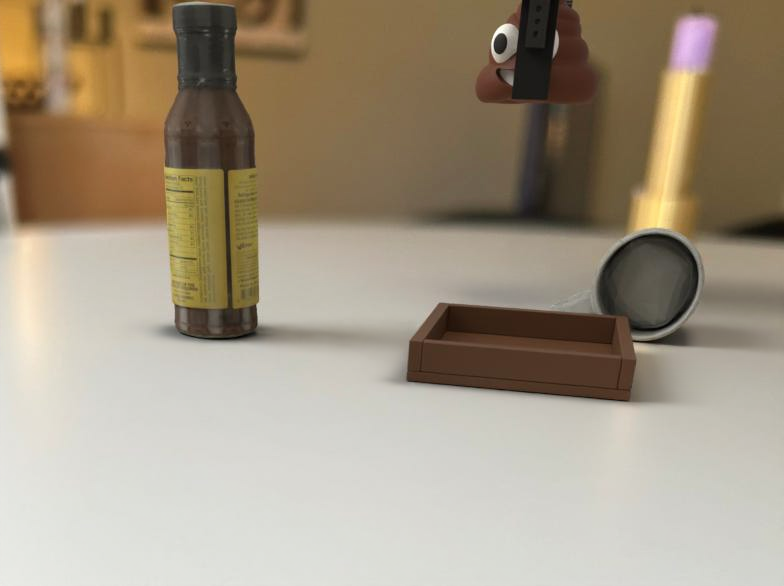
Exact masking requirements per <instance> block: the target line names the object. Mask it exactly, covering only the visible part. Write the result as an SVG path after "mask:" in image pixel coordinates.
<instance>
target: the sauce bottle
mask: <svg viewBox="0 0 784 586" xmlns="http://www.w3.org/2000/svg"><path fill="white" fill-rule="evenodd" d="M171 9H172V10H171V18H172V19H171V21H172V30H173V33H174V35H175V38H176V39H175V40H176V55H177V57H176V58H177V76H176V80H177V89H178V91H177V94H176V96H175V97H174V100H173V103H172V106H171V107H170V108H169V110H168V113H167V116H166V117H165V121H164V127H163V144H164V157H163V170H164V188H165V191H164V192H165V203H166V205H165V206H166V224H167V225H166V226H167V241H168V256H169V257H168V259H169V270H170V271H169V273H170V290H171V301H172V304H174V320H173V321H174V326H175V328H176V330H177V331H178V332H179V333H182V334H185V335H187V336H192V337H196V338H202V339H227V338H236V337H241V336H246V335H247V334H251V333H252V332H254V331H255V330H257V328H258V325H259V322H258V321H259V319H258V317H259V316H258V306H257V305H258V303H259V302H260V270H259V269H260V266H259V265H260V263H259V259H260V258H259V257H260V256H259V210H258V209H259V207H258V206H259V205H258V167H257V165H256V149H255V148H256V146H255V144H256V140H255V139H256V133H255V129H254V124H253V121H252V119H251V115H250V114H249V112H248V111H247V109H246V107H245V104H244V102H243V101H242V100H241V98H240V95H239V94H238V92H237V90H238V85H237V82H238V75H237V72H236V71H237V70H236V51H235V50H236V49H235V48H236V43H235V42H236V41H235V40H236V35H237V30H238V16H237V8H236V6H235V5H234V4H233V5H232V4H225V3H217V2H215V3H214V2H208V1H207V2H206V1H188V2H187V1H186V2H180V3H177V4H174V5H173V6H172V8H171Z"/></svg>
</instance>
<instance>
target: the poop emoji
mask: <svg viewBox="0 0 784 586" xmlns="http://www.w3.org/2000/svg"><path fill="white" fill-rule="evenodd" d="M521 5H522V1H521V2H520V3H519V4H518V6H517V9H516V11H515V12H512V14H510V15H509V17H508V18H507V20H506V22H505V23H504V24H501V25H500V26H499V27H498V28H497V29H496V31H495V32H494V34H493V36H492V39H491V44H490V46H489V50H488V61H489V62H488V64H487V65H485V66H483V68H482V69H481V70H480V71H479V73H478V75H477V77H476V80H475V85H474V86H475V87H474V89H475V96H476V98H477V99H478V100H479V102H481V103H485V104H501V105H521V104H551V105H552V104H553V105H574V106H585V105H589V104H591V103H592V102H593V101H594V99H595V98H596V97H597V95H598V92H599V86H600V82H599V81H600V79H599V75H598V73H597V71H596V69H594V67H593V66H591V65H590V64H589V54H590V50H589V46H588V43H587V42H586V41H585V39H583V38H582V31H583V30H582V24H581V17H580V15H579V13H578V11H576V10H575V9H574V8H573V7H572V8H571V7H569V6H568V5H567V0H560V2H559V10H558V18H557V27H556V35H555V43H554V51H553V59H552V67H551V75H550V83H549V91H548V99H547V100H520V99H511V97H512V88H513V79H514V70H515V60H516V51H517V42H518V33H519V24H520V14H521Z"/></svg>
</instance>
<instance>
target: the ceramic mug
mask: <svg viewBox="0 0 784 586" xmlns="http://www.w3.org/2000/svg"><path fill="white" fill-rule="evenodd" d="M704 266H705V265H704V262H703V259H702V256H701V253H700V251H699V250H698V248H697V246H695V245H694V243H693V242H692V241H691V240H690V239H689V238H688V237H686V236H685V235H684V234H682V233H680V232H678V231H676V230H673V229H670V228H665V227H648V228H643V229H637V230H635V231H634V232H632V233H629V234H627V235H625V236H624V237H622V238H621V239H619V240H617V242H615V243H614V244H613V245H612V246H611V247H609V249H608V250H607V252H605V254H604V255H603V257H601V260H600V261H599V263H598V265H597V266H596V267H597V268H596V270H595V273H594V276H593V278H592V286H591V288H590V289H588V290H585V291H581V292H579V293H576V294H574V295H572V296H570V297H567V298H564V299H562V300H559V301H557V302H555V303H553V304H552V305H551V307H550V311H560V312H574V313H587V314H600V315H614V316H626V317H628V322H629V327H630V331H631V336H632V341H638V342H646V341H647V342H649V341H654V340H655V341H656V340H659V339H662V338H664V337H667V336H668V335H670V334H672V333H674V332H675V331H676V330H678V329H680V328H681V327H682V326H683V325H684V324H685V323H687V322H688V320H689V319H690V318H691V316H692V315H693V314H694V313H695V311H696V309H697V308H698V306H699V303H700V301H701V299H702V295H703V292H704V288H705V279H706V274H705V273H706V272H705V267H704Z"/></svg>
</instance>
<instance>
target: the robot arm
mask: <svg viewBox="0 0 784 586" xmlns="http://www.w3.org/2000/svg"><path fill="white" fill-rule="evenodd" d="M521 2H522V5H521V14H520V24H519V33H518V42H517V51H516V60H515V70H514V79H513V88H512V97H511V99H520V100H547V99H548V91H549V83H550V75H551V67H552V59H553V51H554V43H555V35H556V27H557V18H558V10H559V2H560V0H521ZM573 2H574V0H567V5H568V6H569V7H571V8H572V9H573Z"/></svg>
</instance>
